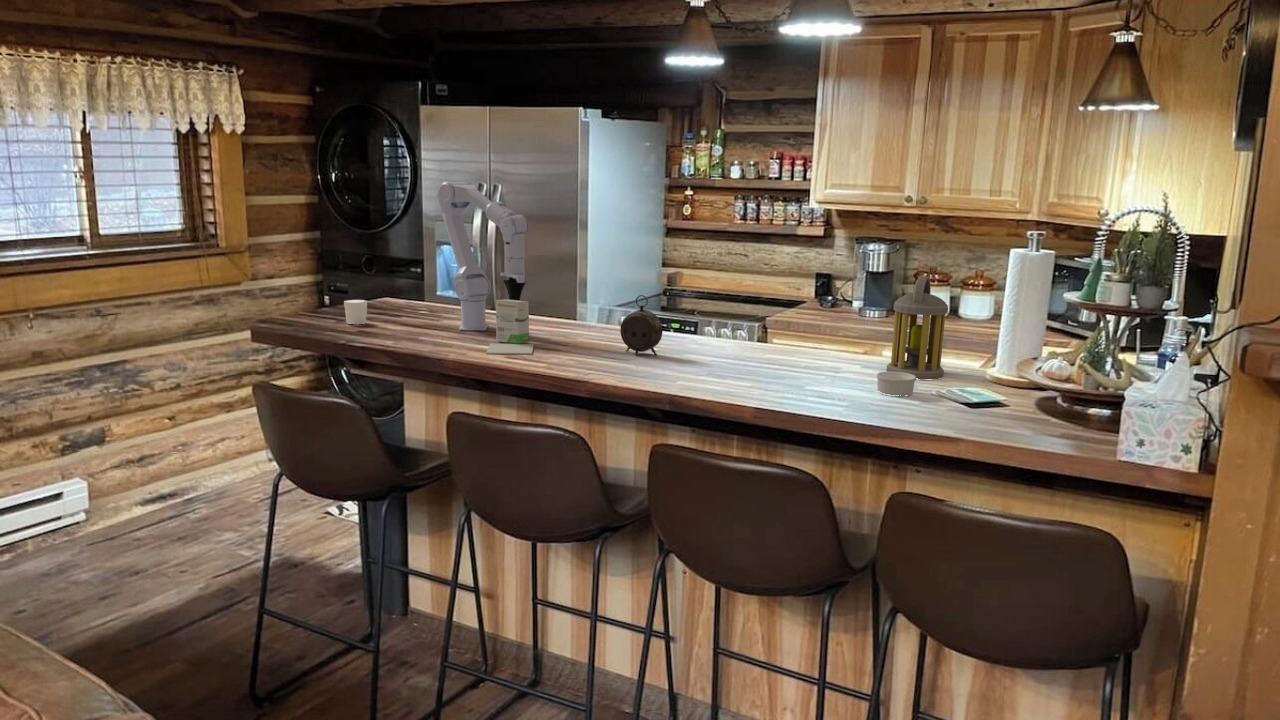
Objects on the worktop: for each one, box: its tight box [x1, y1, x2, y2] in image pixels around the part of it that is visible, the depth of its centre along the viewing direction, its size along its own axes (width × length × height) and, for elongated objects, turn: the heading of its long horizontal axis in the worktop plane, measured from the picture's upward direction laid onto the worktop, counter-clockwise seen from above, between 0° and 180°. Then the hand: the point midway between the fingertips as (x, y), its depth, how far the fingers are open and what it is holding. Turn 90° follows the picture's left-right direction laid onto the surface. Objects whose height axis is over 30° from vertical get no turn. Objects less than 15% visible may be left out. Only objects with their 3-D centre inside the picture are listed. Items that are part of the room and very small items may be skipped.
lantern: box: [885, 275, 949, 380], centre depth 241 cm, size 14×14×25 cm
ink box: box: [495, 298, 530, 344], centre depth 268 cm, size 9×5×12 cm, turn 55°
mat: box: [486, 343, 535, 355], centre depth 259 cm, size 12×12×1 cm
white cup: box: [343, 299, 368, 325], centre depth 291 cm, size 7×7×7 cm
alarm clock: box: [619, 294, 663, 356], centre depth 256 cm, size 11×5×16 cm, turn 66°
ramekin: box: [876, 371, 917, 396], centre depth 223 cm, size 9×9×4 cm
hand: (514, 304), depth 276 cm, fingers closed
